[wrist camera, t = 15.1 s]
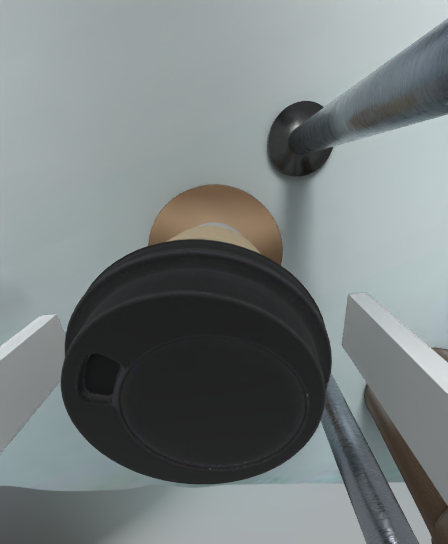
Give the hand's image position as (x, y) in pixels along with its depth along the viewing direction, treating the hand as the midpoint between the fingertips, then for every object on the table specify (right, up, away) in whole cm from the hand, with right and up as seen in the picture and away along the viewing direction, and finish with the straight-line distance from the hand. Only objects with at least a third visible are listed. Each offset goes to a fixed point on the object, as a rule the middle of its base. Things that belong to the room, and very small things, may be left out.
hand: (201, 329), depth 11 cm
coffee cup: (0, +4, +10) cm, 11 cm away
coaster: (0, +4, +11) cm, 12 cm away
